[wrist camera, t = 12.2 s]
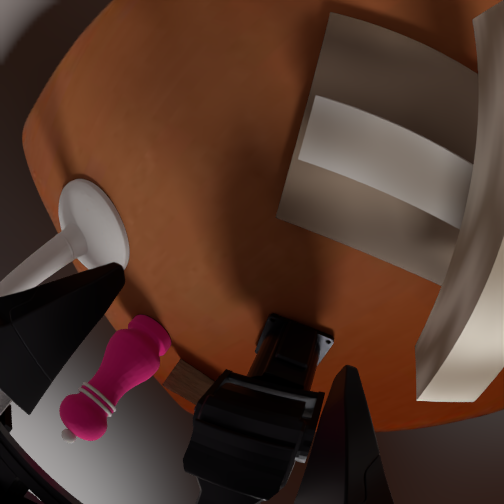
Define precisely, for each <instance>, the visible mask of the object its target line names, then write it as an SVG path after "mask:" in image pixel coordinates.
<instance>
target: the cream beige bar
mask: <svg viewBox="0 0 504 504" xmlns="http://www.w3.org/2000/svg"><path fill="white" fill-rule="evenodd" d="M472 20H473V26H474V33H475V41H476V50H477V62H478V83H479V105H478V127H477V139H476V149H475V157H474V164H473V171H472V177H471V183H470V188H469V193H468V198H467V203H466V208H465V212H464V216H463V220H462V224H461V228H460V232H459V235H458V239H457V242H456V246H455V249H454V252H453V255H452V258H451V261H450V264H449V267H448V270H447V273H446V276H445V279H444V281H443V284H442V287H441V289H440V292H439V294H438V297H437V299H436V302H435V304H434V307H433V309H432V311H431V313H430V316H429V318H428V320H427V322H426V325H425V327H424V329H423V331H422V333H421V335H420V337H419V339H418V341H417V343H416V345H415V355H416V382H417V401H437V402H474V401H475V400H476V399H477V398H478V397H479V396H480V394H481V393H482V392H483V391H484V390H485V389H486V388H487V387H488V385H489V384H490V383H491V382H492V381H493V379H494V378H495V377H496V376H497V375H498V373H499V372H500V371H501V369H502V368H503V367H504V0H503V1H501V2H500V3H498V4H496V5H495V6H493V7H491V8H490V9H488V10H487V11H485V12H483V13H482V14H480V15H479V16H477V17H475V18H474V19H472Z"/></svg>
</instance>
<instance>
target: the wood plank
mask: <svg viewBox="0 0 504 504" xmlns="http://www.w3.org/2000/svg"><path fill="white" fill-rule="evenodd" d="M214 382H215V381H213V380H212V379H210V378H209V377H207V376H206V375H204V374H203V373H201V372H200V371H198V370H197V369H195V368H194V367H192V366H191V365H189V364H188V363H186V362H185V361H183V360H182V359H180V360H179V362H178V363H177V365H176V366H175V368H174V369H173V370H172V372H171V373H170V375H169V376H168V377H167V379H166V380H165V382H164V383H163V386H164V387H166V388H167V389H169V390H171V391H173V392H174V393H176V394H179V395H180V396H182V397H184V398H185V399H187V400H189V401H190V402H192V403H194V404H195V405H197V402H198V400H199V399H200V398H201V397H202V396H203V395H204V394H205V392H206V391H207V390H208V389H209V388H210V387H211V386H212V384H213V383H214Z"/></svg>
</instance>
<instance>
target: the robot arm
mask: <svg viewBox="0 0 504 504" xmlns="http://www.w3.org/2000/svg"><path fill="white" fill-rule="evenodd" d="M124 284H125V276H124V268H123V266H122V265H120V264H118V263H117V262H112V263H109V264H105V265H102V266H99V267H96V268H92V269H89V270H86V271H83V272H80V273H77V274H73V275H70V276H67V277H64V278H61V279H58V280H55V281H52V282H49V283H46V284H43V285H40V286H37V287H34V288H31V289H27V290H24V291H21V292H17V293H14V294H10V295H6V296H2V297H0V504H83V503H81V502H80V501H79V500H77V499H76V498H75V497H74V496H72V495H71V494H70V493H69V492H67V491H66V490H65V489H64V488H63V487H62V486H60V485H59V484H58V483H57V482H56V481H55V480H54V479H52V478H51V477H50V476H49V475H48V474H47V473H46V472H45V471H44V470H43V469H42V468H41V467H40V466H39V465H38V464H37V463H36V462H35V461H34V460H33V459H32V458H31V457H30V456H29V455H28V454H27V453H26V452H25V451H24V450H23V449H22V448H21V446H20V445H19V444H18V443H17V442H16V441H15V439H14V438H13V437H12V436H11V435H10V433H9V432H10V431H11V430H12V417H11V405H10V403H11V402H12V401H13V402H14V403H16V404H17V405H18V406H19V407H20V408H21V409H22V410H24V411H25V412H26V413H27V414H28V415H30V414H31V412H32V411H33V409H34V408H35V406H36V405H37V403H38V402H39V400H40V399H41V397H42V396H43V395H44V393H45V392H46V390H47V389H48V387H49V386H50V385H51V383H52V382H53V380H54V379H55V377H56V376H57V375H58V373H59V372H60V371H61V369H62V368H63V366H64V365H65V364H66V362H67V361H68V360H69V358H70V357H71V356H72V354H73V353H74V352H75V351H76V349H77V348H78V347H79V345H80V344H81V343H82V342H83V340H84V339H85V338H86V336H87V335H88V334H89V333H90V331H91V330H92V329H93V328H94V326H95V325H96V324H97V322H98V321H99V320H100V319H101V318H102V317H103V315H104V314H105V313H106V311H107V310H108V308H109V307H110V305H111V304H112V302H113V301H114V299H115V298H116V296H117V295H118V293H119V292H120V291H121V289H122V288H123V286H124ZM272 318H273V319H272ZM328 340H330V341H328ZM333 342H334V337H333V336H331V335H328V334H325V333H323V332H320V331H318V330H315V329H312V328H310V327H307V326H305V325H302V324H299V323H297V322H294V321H292V320H289V319H287V318H284V317H282V316H279V315H277V314H274V313H272V314H270V315H269V317H268V319H267V322H266V324H265V327H264V329H263V332H262V335H261V337H260V340H259V342H258V345H257V347H256V350H255V353H256V354H257V355H256V357H255V360H254V362H253V364H252V366H251V368H250V370H249V372H248V374H247V376H244V375H241V374H237V373H234V372H232V371H230V370H227V369H226V370H225V371H224V372H223V373H222V374H221V375H220V376H219V377H218V379H217V380H216V381H215V382H214V383H213V384H212V386H211V387H210V388H209V389H208V390H207V391H206V392H205V394H204V395H203V396H202V397H201V398H200V399H199V400H198V402H197V405H196V406H195V409H194V411H195V412H194V417H193V427H194V428H193V434H192V437H191V440H190V443H189V446H188V448H187V450H186V453H185V455H184V458H183V463H184V470H185V472H187V473H189V474H191V475H193V476H196V478H197V481H198V484H199V487H200V493H199V496H198V499H197V501H196V504H259V503H261V502H262V501H264V500H266V501H267V500H269V499H270V498H271V497H273V496H274V495H275V494H276V493H278V491H279V490H280V489H281V488H283V487H284V486H285V484H286V483H287V480H288V478H289V476H290V473H291V471H292V468H293V465H294V463H295V461H298V462H302V463H305V461H306V458H307V455H308V452H309V449H310V446H311V443H312V440H313V437H314V433H315V430H316V426H317V423H318V419H319V415H320V411H321V407H322V403H323V399H324V395H325V393H324V392H319V393H318V392H313V391H310V389H311V385H312V382H313V378H314V375H315V371H316V367H317V365H318V364H319V363H320V361H321V360H322V358H323V357H324V356H325V354H326V353H327V352H328V350H329V349H330V347H331V346H332V345H333ZM379 453H380V452H379V448H378V444H377V440H376V436H375V431H374V428H373V424H372V420H371V416H370V412H369V408H368V405H367V401H366V398H365V394H364V390H363V387H362V383H361V380H360V377H359V373H358V370H357V368H355V367H353V366H350V365H345V366H344V367H343V368H342V370H341V371H340V372H339V373H338V374H337V375H336V377H335V379H334V381H333V384H332V387H331V389H330V392H329V395H328V398H327V401H326V403H325V406H324V409H323V411H322V414H321V417H320V421H319V424H318V428H317V432H316V436H315V439H314V443H313V447H312V450H311V454H310V457H309V460H308V463H307V467H306V470H305V473H304V476H303V479H302V482H301V485H300V488H299V491H298V494H297V497H296V499H295V502H294V504H394V502H393V499H392V497H391V493H390V490H389V487H388V484H387V480H386V477H385V473H384V469H383V465H382V461H381V456H380V455H379ZM29 489H30V490H31V491H32V492H33V493H34V494H35V495H36V496H37V497H38V498H39V499H40V500H41V501H40V500H39V499H38V498H37V497H36V496H34V495H33V494H32V493H30V492H29V491H28V490H29Z"/></svg>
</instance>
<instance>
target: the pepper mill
mask: <svg viewBox="0 0 504 504" xmlns="http://www.w3.org/2000/svg"><path fill="white" fill-rule="evenodd" d="M170 346H171V339H170V337H169V334H168V333H167V332H166V330H165V329H164V328H163V327H162V326H161V325H160V324H159V323H158V322H157V321H155V320H154V319H152V318H150V317H148V316H146V315H137V316H135V317H134V319H133V320H132V321H131V322H130V323H129V324H128V329H121V330H118V331H117V332H116V333H115V334H114V335H113V336H112V338H111V339H110V341H109V343H108V345H107V348H106V351H105V355H104V358H103V361H102V363H101V366H100V368H99V370H98V371H97V373H96V374H95V376H94V377H93V378H92V379H91V380H90V381H89V382H88V383H86V382H84V383H83V385H82V387H80V388H79V389H78V390H79V392H80V393H79V394H72V395H68V396H66V398H65V399H64V400H63V401H62V403H61V405H60V417H61V419H62V421H63V423H64V425H65V426H66V427H67V428H68V429H65V430H63V431H62V438H63V440H64V441H66V442H67V443H74V442H75V440H76V436H78V437H80V438H82V439H84V440H88V441H93V440H97V439H99V438H100V437H101V436H102V435H103V434H104V433H105V431H106V429H107V416H108V417H111V416H112V413H113V412H115V411H116V408H115V405H116V403H117V402H118V400H119V399H120V398H121V397H122V396H123V395H124V394H125V393H126V392H127V391H128V390H130V389H131V388H133V387H134V386H136V385H138V384H140V383H142V382H143V381H146V380H147V379H148V378H150V377H151V376H152V375H153V374H154V373H155V372H156V371H157V370H158V368H159V366H160V358H159V356H162V355H164V354H165V353H166V351H167V350H168V349H169V347H170Z"/></svg>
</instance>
